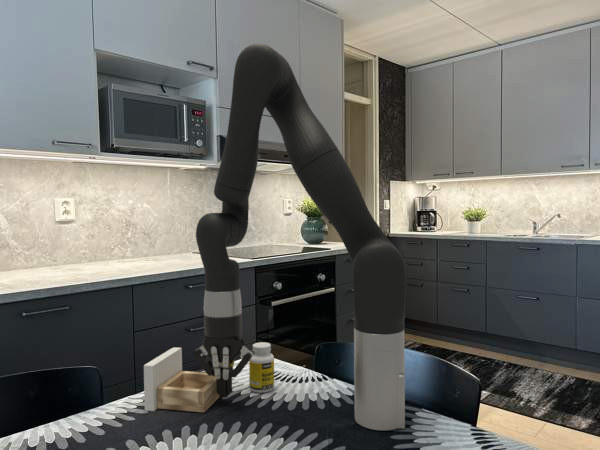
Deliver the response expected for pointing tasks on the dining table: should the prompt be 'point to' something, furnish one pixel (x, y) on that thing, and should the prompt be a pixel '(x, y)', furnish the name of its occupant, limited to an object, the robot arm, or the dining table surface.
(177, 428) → the dining table surface
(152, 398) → the backstop board
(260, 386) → the supplement bottle
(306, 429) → the dining table surface
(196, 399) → the socket block
